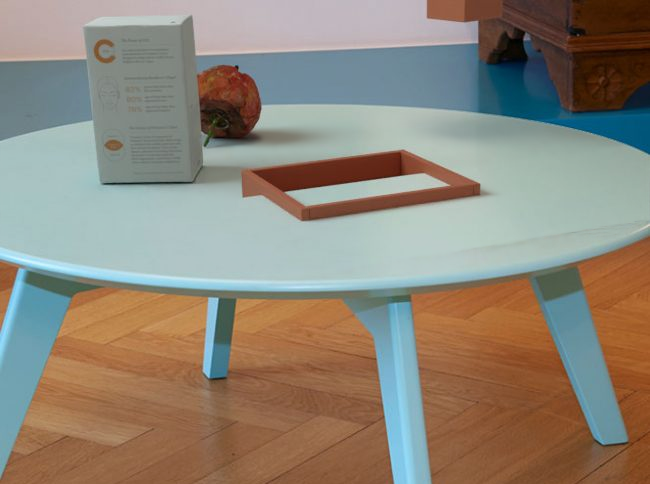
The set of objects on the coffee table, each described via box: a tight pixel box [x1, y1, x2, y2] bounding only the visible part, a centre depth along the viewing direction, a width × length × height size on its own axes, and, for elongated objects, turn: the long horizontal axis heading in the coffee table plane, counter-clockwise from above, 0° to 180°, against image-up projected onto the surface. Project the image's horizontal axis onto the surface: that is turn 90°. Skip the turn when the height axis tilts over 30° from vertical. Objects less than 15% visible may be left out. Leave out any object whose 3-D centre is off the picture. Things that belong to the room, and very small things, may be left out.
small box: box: [82, 14, 204, 184], centre depth 95 cm, size 8×6×13 cm
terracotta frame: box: [240, 149, 481, 222], centre depth 86 cm, size 14×12×3 cm
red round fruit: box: [197, 64, 263, 148], centre depth 108 cm, size 7×7×10 cm
